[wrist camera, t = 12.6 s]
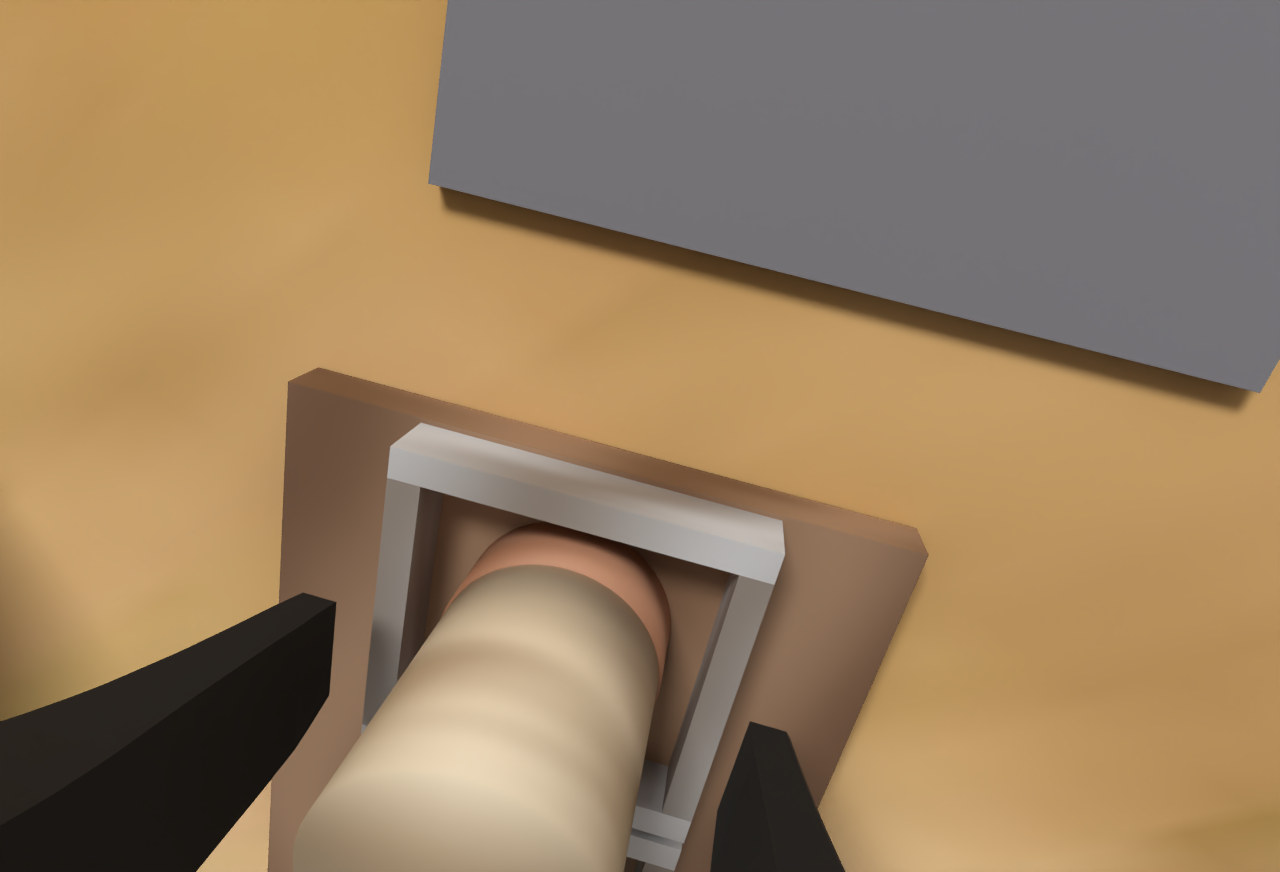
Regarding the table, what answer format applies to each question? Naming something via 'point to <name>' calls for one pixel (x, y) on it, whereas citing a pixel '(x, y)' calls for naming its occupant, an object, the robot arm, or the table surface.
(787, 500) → the brown compartment tray
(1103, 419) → the table surface
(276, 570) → the table surface
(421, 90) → the table surface
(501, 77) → the mat
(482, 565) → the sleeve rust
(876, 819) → the table surface
